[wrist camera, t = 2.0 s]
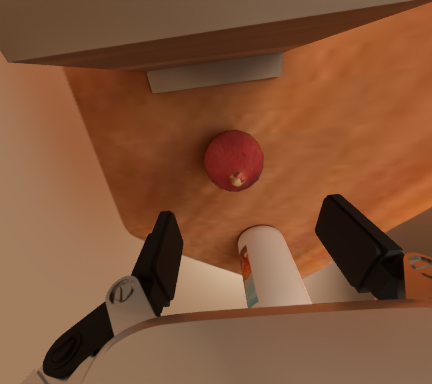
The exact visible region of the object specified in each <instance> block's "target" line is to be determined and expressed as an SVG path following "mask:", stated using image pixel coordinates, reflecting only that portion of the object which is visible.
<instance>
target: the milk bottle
mask: <svg viewBox="0 0 432 384" xmlns="http://www.w3.org/2000/svg"><path fill="white" fill-rule="evenodd" d="M238 248H239V256H240V262H241V269H242V275H243V282H244V288H245V294H246V300H247V306H248V308H260V307H274V306H289V305H304V304H312V302H311V300H310V297H309V295H308V292H307V290H306V288H305V286H304V283H303V281H302V278H301V276H300V274H299V272H298V269H297V267H296V265H295V262H294V260H293V258H292V256H291V253H290V251H289V249H288V247H287V244H286V242H285V240H284V238H283V236H282V234H281V232H280V231H278V230H277V229H276V228H274V227H271V226H265V225H262V226H255V227H252V228H250V229H248V230H246V231H245V232H243V234H242V235H241V236H240V238H239V241H238Z"/></svg>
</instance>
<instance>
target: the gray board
mask: <svg viewBox="0 0 432 384" xmlns="http://www.w3.org/2000/svg"><path fill="white" fill-rule="evenodd" d="M429 2H432V0H0V51H1V52H2V54H3V55H4V57H5V58H6V60H7V61H8V62H12V63H26V64H41V65H55V66H69V67H84V68H98V69H112V70H127V71H141V72H146V73H147V76H148V80H149V83H150V87H151V90H152V94H155V93H163V92H170V91H177V90H185V89H192V88H199V87H207V86H214V85H221V84H229V83H236V82H243V81H251V80H258V79H265V78H273V77H280V76H281V74H282V63H283V52H285V51H288V50H291V49H294V48H297V47H300V46H303V45H306V44H309V43H312V42H315V41H318V40H321V39H324V38H327V37H330V36H332V35H335V34H338V33H341V32H344V31H347V30H350V29H353V28H356V27H359V26H362V25H365V24H368V23H371V22H374V21H376V20H379V19H382V18H385V17H388V16H391V15H394V14H397V13H400V12H403V11H406V10H409V9H412V8H415V7H418V6H421V5H423V4H426V3H429Z"/></svg>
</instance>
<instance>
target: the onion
mask: <svg viewBox="0 0 432 384" xmlns="http://www.w3.org/2000/svg"><path fill="white" fill-rule="evenodd" d="M204 159H205V170H206V172H207V174H208V176H209V177H210V179H211V181H212V182H213V183H214V184H216V185H217V186H218V187H219V188H221V189H224V190H227V191H241V190H244V189H247V188H249V187H250V186H251V185H253V184H254V183H255V182H256V181H257V180H258V179H259V176H260V174H261V172H262V169H263V160H264V155H263V152H262V150H261V147H260V145H259V143H258V142H257V141H256V140H255V139H254V138H253V137H252V136H251V135H249V134H247V133H245V132H242V131H239V130H231V131H225V132H223V133H221V134H219V135H218V136H216V137H215V138H214V139H213V141H212V142H211V143H210V144H209V146H208V149H207V151H206V154H205V157H204Z"/></svg>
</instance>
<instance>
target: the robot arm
mask: <svg viewBox="0 0 432 384" xmlns="http://www.w3.org/2000/svg"><path fill="white" fill-rule="evenodd" d="M315 233H316V235H317V236H318V238H319V239H320V241H321V242H322V244H323V245H324V247H325V248H326V250H327V251H328V253H329V254H330V255H331V257H332V258H333V260H334V261H335V263H336V264H337V266H338V267H339V269H340V270H341V272H342V273H343V275H344V276H345V277H346V279H347V280H348V282H349V283H350V285H351V286H353V287H355V288H356V290H357V291H358V293H369V292H371V293H372V294H373V295H374V300H367V301H351V302H335V303H320V304H304V305H289V306H274V307H260V308H246V309H232V310H219V311H206V312H195V313H184V314H174V315H167V316H161V315H160V314H161V313H162V310H163V307H169V306H170V300H173V298H174V294H175V289H176V283H177V277H178V272H179V267H180V261H181V256H182V250H183V239H182V236H181V233H180V230H179V227H178V224H177V221H176V218H175V215H174V213H171V211H163V212H160V214H159V216H158V219H157V221H156V224H155V226H154V229H153V231H152V233H150V234H149V235H148V236H147V238H146V241H145V243H144V246H143V248H142V250H141V253H140V255H139V257H138V260H137V262H136V265H135V267H134V269H133V271H132V274H131V276H125V277H123V278H121V279H119V280H118V281H116V282H115V283H114V284H113V285H112V286H111V287H110V289H109V290H108V292H107V295H106V301H105V302H104V303H103V304H101V305H100V306H99V307H97V308H96V309H95V310H93V311H92V312H91V313H90V314H88V315H87V316H86V317H84V318H83V319H82V320H81V321H79V322H78V323H77V324H75V325H74V326H73V327H72V328H70V329H69V330H68V331H66V332H65V333H64V334H63V335H62V336H61V337H59V338H58V339H57V340H56V341H55V342H54V344H53V345H52V346H51V347H50V349H49V351H48V352H47V354H46V356H45V359H44V361H43V365H42V366H41V367H40V368H39V369H38V370H34V371H33V372H32V373H31V374H30V375H29V376H28V377H27V378H26V379H25V380H24V381H23V382H22V383H21V384H432V258H431V257H429V256H426V255H423V254H419V253H408V254H406V255H404V254H403V253H402V252H401V251H402V250H403V249H402V248H401V247H399V246H398V245H397V244H396V243H395V242H394V241H393V240H391V239H390V238H389V237H388V236H387V235H386V234H385V233H384V232H382V231H381V230H380V229H379V228H378V227H377V226H376V225H374V224H373V223H372V222H371V221H370V220H369V219H368V218H366V217H365V216H364V215H363V214H362V213H361V212H360V211H359V210H357V209H356V208H355V207H354V206H353V205H352V204H351V203H349V202H348V201H347V200H346V199H345V198H344V197H343V196H342V195H340V194H333V195H328V196H327V197H326V198H324V200H323V204H322V207H321V210H320V214H319V217H318V221H317V224H316V227H315Z"/></svg>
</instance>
